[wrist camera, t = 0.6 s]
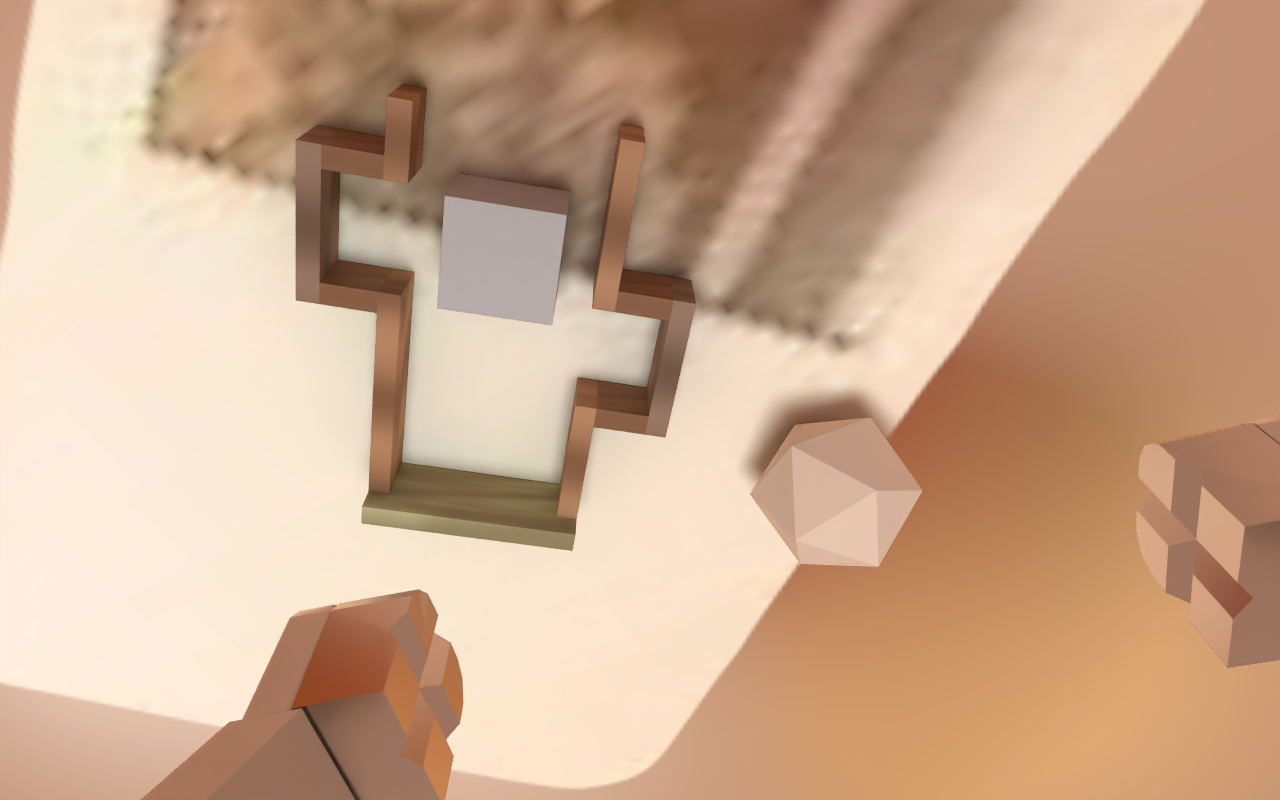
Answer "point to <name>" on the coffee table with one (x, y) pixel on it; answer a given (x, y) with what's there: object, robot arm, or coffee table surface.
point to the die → (837, 493)
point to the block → (502, 248)
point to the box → (323, 279)
